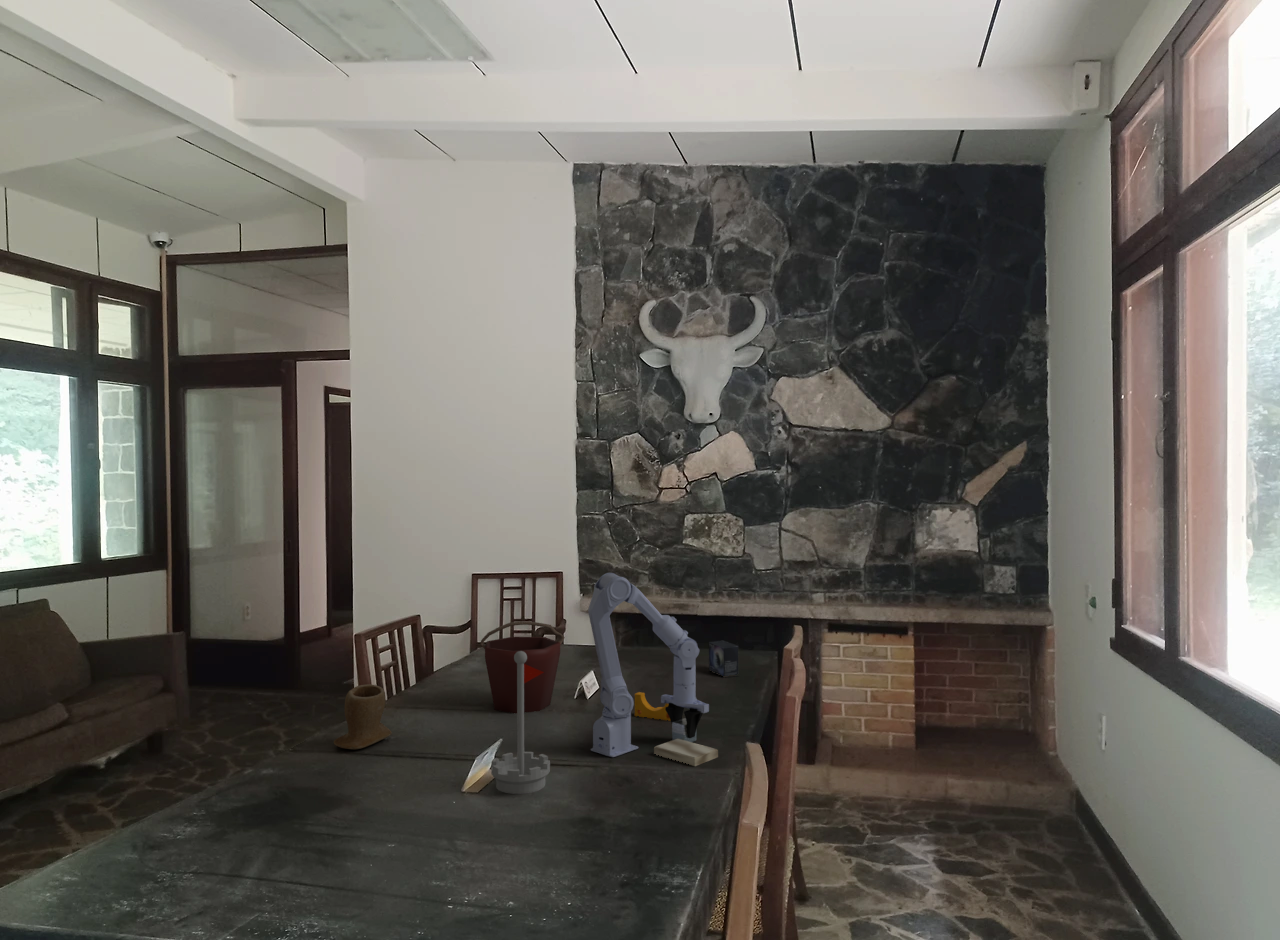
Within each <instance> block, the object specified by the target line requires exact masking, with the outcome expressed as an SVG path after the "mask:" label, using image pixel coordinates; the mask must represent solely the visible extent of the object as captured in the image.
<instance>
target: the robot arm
mask: <svg viewBox="0 0 1280 940" xmlns="http://www.w3.org/2000/svg"><path fill="white" fill-rule="evenodd" d="M623 602H626V603H627V604H631V605H633V606H634V607H635V608H636V609H637V610H638V611H639V612H640V613H641V614H642V615H644V617H646V619H648V621H650V622H651V624H652V631H653V633H654V634H655V635H656V636H657V637H658V638H659V639H660V640H661V641H663V643H664V644H665V645H666V646H667V647H668V648H669V650H670V652H671V653H672V654H674V655H673V683H672V684H673V695H672V694H671V695H670V694H667V693H666V694H662V695H660V704H666V703H668V704H669V705H668V707H666V708H665V710H666V712H667V714H668V715H669V718H670V720H671V721H670V723H671V724H672V722H674V721H677V720H680V719H683V714H684V717H685V718H686V722H687V735H688V738H692V737H695V733H696V729H697V730H698V725H699V723H700V720H701V718H702V716H703V715H704V714H706V713H709V711H710V704H709V703H705V702H703V701H701V700H699V699H697V696H696V692H697V691H696V688H697V687H696V685H697V684H696V683H697V682H696V678H697V675H696V671H697V669H696V659H697V657H698V656H699V654H700V648H699V647H698V643H697V641H696V640H695V639H693V638H691V637H689V636H688V634H689V632H688V631H687V630H686V629H683V628H681V626H680V625H679V624H678V623H677V618H675V616H670V615H669V614H662V613H661V612H659V610H658V609H657V608H656V607H655V606H654V604H653V603H652V602H651V601H650V600H649V599H648V598H647V597H646V595H644V593H643V592H642V591H641V590H640V589H639V588H638V587H637V586H636V585H634V584H633V583H631V582H630V580H628V579H627V577H625V576H619V575H618V574H616V573H614V572H606V573H604V574H602V575H601V576H600V577H599V578H598V580H597V581H596V582H595V583H594V587H593V592H592V596H591V599H590V603H589V606H588V616H589V622H590V626H591V631H592V635H593V636H592V637H593V640H594V646H595V650H596V655H597V659H598V664H599V665H598V666H599V670H600V674H601V681H600V687H601V690H600V694H599V699H600V703H601V704H602V705H603V706H604V707H603V709H602V713H601V716H600V717H599V718H598V719H596V720H595V721H594V723H593V725H592V726H593V727H592V748H590V751H591V752H594V753H598V754H600V755H603V756H606V757H610V758H615V757H618V756H621V755H624V754H626V753H630V752H632V751H635V750H638V749H639V746H638V745H634V744H632V711H633V709H634V706H635V700H634V698H633V696H632V695H631V694H630V692H629V691H628V687H627V684H626V681H625V679H624V677H623V674H622V669H621V664H620V659H619V654H618V650H617V646H616V645H617V644H616V640H615V636H614V632H613V627H612V622H611V617H610V615H611V614H612V613H613V612H614V610H615V609H616V608H617V607H618V606H619V605H621V604H622V603H623ZM685 709H688V710H685ZM684 710H685V711H684Z"/></svg>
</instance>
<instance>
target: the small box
mask: <svg viewBox="0 0 1280 940" xmlns="http://www.w3.org/2000/svg"><path fill="white" fill-rule="evenodd" d="M709 670H711V671H713V672H715V673H718V674H720V675H722V676H729V675H737V674H739V645H737V644H734V643H731V642H729V641H726V640H715V641H709V642H708V671H709Z"/></svg>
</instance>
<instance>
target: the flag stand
mask: <svg viewBox="0 0 1280 940" xmlns="http://www.w3.org/2000/svg"><path fill="white" fill-rule="evenodd" d="M514 660H515V662H516V663H517V713H516V714H517V715H516V717H517V718H516V724H517V725H516V727H517V728H516V733H517V735H516V737H517V739H516V740H517V742H516V744H517V745H516V746H517V748H516V749H517V750H516V752H517V753H516V754H517V755H516V756H514V753H513V752H507V753H504V754H501V759H499V758H497V757H496V758H495V757H493V759H492V760H491V765H490V767H491V768H490V769H491V771H490V772H491V776H492V777H493V778H494V779H495V788H496V789H497V790H498V791H500V792H502V793H506V794H513V795H522V794H523V795H524V794H531V793H535V792H538V791H540V790H542V789H543V788H544V787H545V786H546V777H547V776H548V775H549V773H550V771H551V760H550V759H549V756H548V755H546V754H544V753H541V754H538V757H536V756H535V757H534V751H525V713H524V683H526V682H528V681H530V680H531V679H533V678H535V677H537V676H538V675H540V674H542V673H544V672H542V671H540V670H537V669H535V668H533V667H530V666H528V665H526V664H524V663H525V662H526V660H527V655H526V653H525V652H523V651H518V652H517V653H516V654H515V655H514Z"/></svg>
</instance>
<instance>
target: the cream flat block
mask: <svg viewBox="0 0 1280 940" xmlns="http://www.w3.org/2000/svg"><path fill="white" fill-rule="evenodd" d="M654 754H656V755H655V756H658V755H659V756H658V757H661V756H662V758H665V759H668V758H669V759H668V760H671V759H672V761H675V760H676V761H675V762H678V761H679V762H678V763H682V762H683V763H682V764H685V763H686V764H685V765H688V764H689V766H693V767H697V766H700V765H702V764H704V763H706V762H709V761H712V760H714V759H717V758H719V749H717V748H713V747H710V746H707V745H702V744H698V743H695V742H689V741H685V740H681V739H675V740H670V741H667V742H664V743H661V744H658V745H656V746H654V747H653V755H654Z"/></svg>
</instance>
